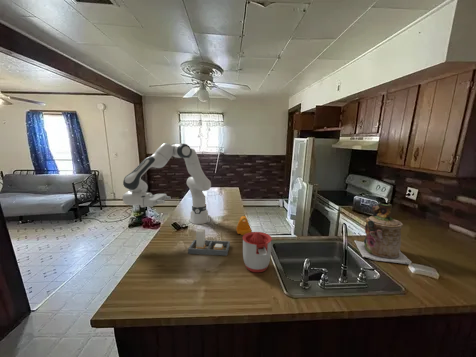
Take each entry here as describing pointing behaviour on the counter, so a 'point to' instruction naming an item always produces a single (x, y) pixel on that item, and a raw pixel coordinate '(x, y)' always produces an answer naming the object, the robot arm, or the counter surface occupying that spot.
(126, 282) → the counter surface
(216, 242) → the grey divided tray
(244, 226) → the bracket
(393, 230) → the cookie jar
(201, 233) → the white upright block
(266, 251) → the citrus juicer
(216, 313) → the counter surface
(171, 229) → the counter surface
